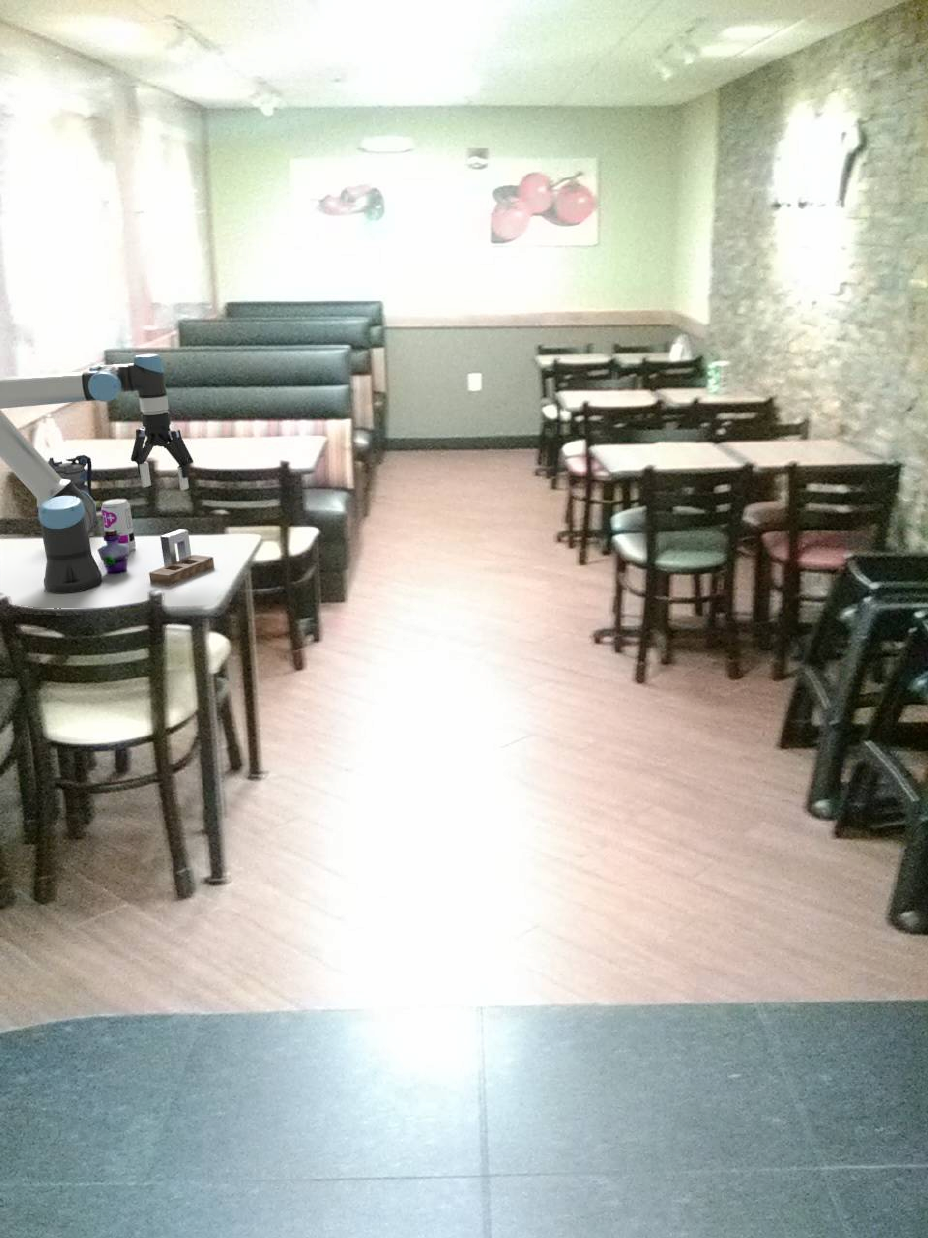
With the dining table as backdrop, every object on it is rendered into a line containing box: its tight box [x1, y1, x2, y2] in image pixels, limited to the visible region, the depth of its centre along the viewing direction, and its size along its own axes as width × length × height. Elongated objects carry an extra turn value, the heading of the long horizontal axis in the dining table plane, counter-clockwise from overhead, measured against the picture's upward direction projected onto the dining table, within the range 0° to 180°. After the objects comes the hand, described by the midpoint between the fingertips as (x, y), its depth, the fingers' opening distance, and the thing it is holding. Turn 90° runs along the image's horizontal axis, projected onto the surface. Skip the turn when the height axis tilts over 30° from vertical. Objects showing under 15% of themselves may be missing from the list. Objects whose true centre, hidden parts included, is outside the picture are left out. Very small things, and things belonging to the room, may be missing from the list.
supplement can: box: [100, 498, 137, 553], centre depth 343 cm, size 8×8×15 cm
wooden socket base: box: [148, 554, 215, 587], centre depth 317 cm, size 18×7×3 cm, turn 151°
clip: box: [159, 528, 192, 567], centre depth 325 cm, size 8×3×10 cm, turn 151°
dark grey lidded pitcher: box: [47, 454, 95, 534], centre depth 364 cm, size 10×13×25 cm
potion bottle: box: [97, 530, 130, 575], centre depth 322 cm, size 9×9×12 cm
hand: (165, 487), depth 322 cm, fingers open, 13 cm apart
